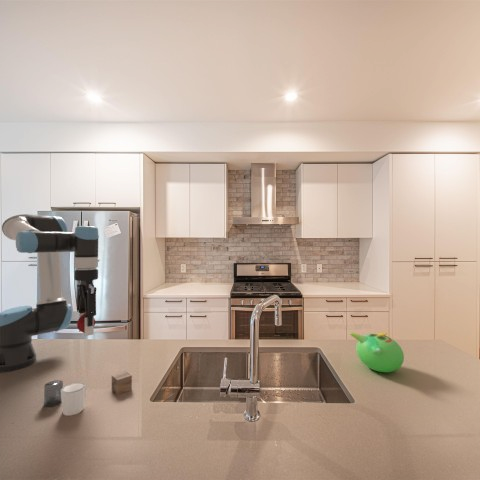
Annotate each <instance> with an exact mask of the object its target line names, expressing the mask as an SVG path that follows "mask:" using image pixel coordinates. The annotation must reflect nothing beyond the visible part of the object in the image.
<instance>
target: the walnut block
mask: <svg viewBox="0 0 480 480" xmlns="http://www.w3.org/2000/svg"><path fill="white" fill-rule="evenodd" d="M132 379H133V375H132V374H131V373H130V372H128V371H127V370H124V371H121V372H118V373H115V374H112V375H111V391H113V393H114V394H116V395H117V396H118V395H121V394H123V393H125V392H128V391H131V390H132V389H133V387H132V386H133V385H132V384H133V382H132V381H133V380H132Z"/></svg>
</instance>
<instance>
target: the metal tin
mask: <svg viewBox="0 0 480 480" xmlns="http://www.w3.org/2000/svg"><path fill="white" fill-rule="evenodd" d="M63 387H64V381H63V380H62V379H55V380H52V381H48V382H47V383H45V384H44V386H43V388H44V389H43V390H44V392H43V398H44V399H43V400H44V401H43V404H44V405H43V406H44V407H46V408H47V407H48V408H53V407H56V406H58V405H60V404H62V401H61V389H62V388H63Z"/></svg>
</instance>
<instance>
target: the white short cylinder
mask: <svg viewBox="0 0 480 480" xmlns="http://www.w3.org/2000/svg"><path fill="white" fill-rule="evenodd" d="M86 389H87V383H85V382H83V381H82V382H81V381H78V382H73V383H69V384H66V385H65V386H64V385H63V388H62V389H61V401H62V402H61V410H62V414H63V415H64V416H67V417H68V416H73V415H77V414H80V412H83V410H85V400H86Z"/></svg>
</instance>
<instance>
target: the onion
mask: <svg viewBox="0 0 480 480" xmlns="http://www.w3.org/2000/svg"><path fill="white" fill-rule="evenodd" d="M84 316H86V312H85V313H84V314H83V315H82V316H81V317H80V318H79V317H78V319H77V322H76V326H77V329H78V331H79V330H80V331H81V332H80V333H83V334H85V318H84ZM95 325H96V318H94V327H95Z"/></svg>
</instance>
